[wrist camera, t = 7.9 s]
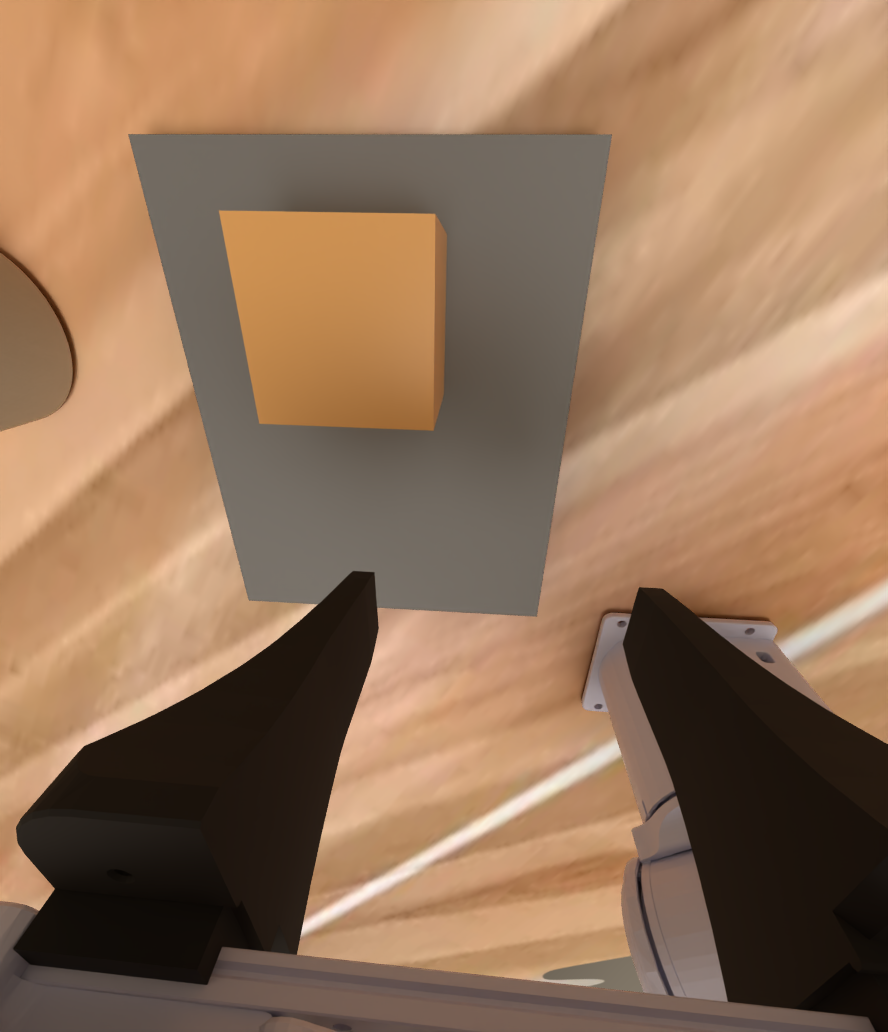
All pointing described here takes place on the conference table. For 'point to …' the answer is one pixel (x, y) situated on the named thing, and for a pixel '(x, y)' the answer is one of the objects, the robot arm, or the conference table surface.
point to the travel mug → (29, 351)
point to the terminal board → (467, 370)
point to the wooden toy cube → (341, 315)
